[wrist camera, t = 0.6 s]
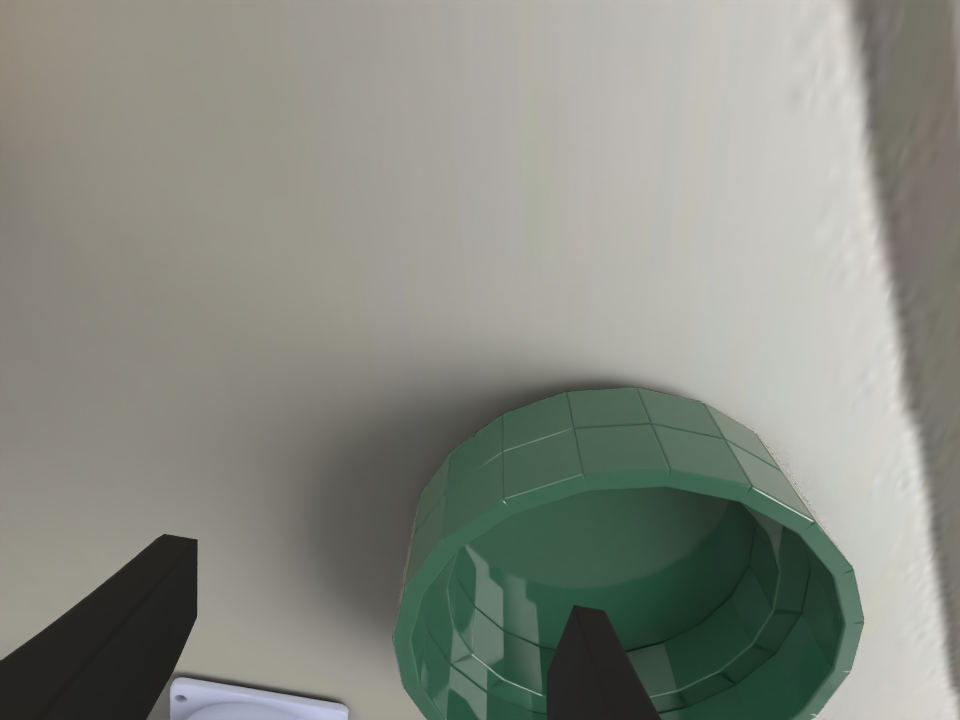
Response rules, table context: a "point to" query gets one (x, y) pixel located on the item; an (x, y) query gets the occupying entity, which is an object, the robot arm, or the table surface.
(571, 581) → the bowl
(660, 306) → the table surface
